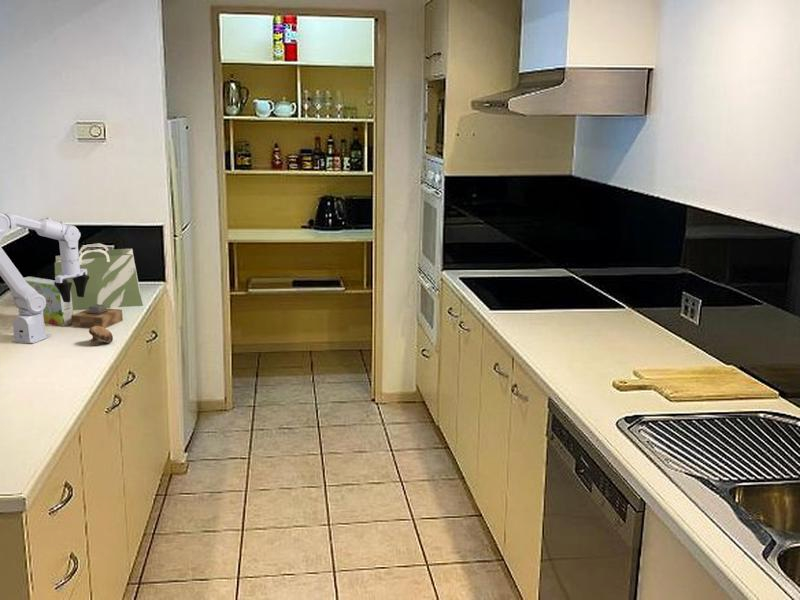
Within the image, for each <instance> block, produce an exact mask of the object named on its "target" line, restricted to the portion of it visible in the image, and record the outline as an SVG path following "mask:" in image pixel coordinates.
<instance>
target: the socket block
mask: <svg viewBox="0 0 800 600" xmlns="http://www.w3.org/2000/svg"><path fill="white" fill-rule="evenodd" d="M71 318H72V324H71V327H72V328H80V329H81V328H82V329H83V328H84V329H90V328H91V327H93V326H101V327H103V328H105V329H107V328H109V327H111V326H114V325H116V324H118V323H120V322H123V320H124V319H123V309H118V308H106V312H105V313H103V314H100V315H92V314H89V309H87V310H81V311H79V312H76V313H75V314H74V313H73V315H72V316H71Z"/></svg>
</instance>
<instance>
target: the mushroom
mask: <svg viewBox="0 0 800 600" xmlns="http://www.w3.org/2000/svg"><path fill="white" fill-rule="evenodd" d="M88 332H89V334H90V335H91V336H92V338H90V340H89V342H90V343H91V344H92V345H94V346H97V344H98V345H99V344H100V343H103V342H104V343H106V344H111V343H112V342H113V340H114V337H113V334H112V332H111V331H110V330H109V329H107V328H103V327H101V326H93V327H91V328H88Z"/></svg>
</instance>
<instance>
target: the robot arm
mask: <svg viewBox="0 0 800 600" xmlns="http://www.w3.org/2000/svg"><path fill="white" fill-rule="evenodd" d="M15 227H19V228H24V229H28V230H34V231H35V232H36V233H37V235H38V236H41V237H45V238H49V239H53V240H57V241H58V243H59V245H58V246H59V253H60V255H59V256H61V266H62V274H60V275H59V276H57V277H55V276H54V279H55V282H54V284H55V286H56V287H57V288H58V290H59V292H60V294H61V296H62V299H63V301H64V302H70V290H71V285H72V283H71V282H68V281H67V280H69V279H73V281H74V283H75V287H76V292H77V296H78V297H84V293H85V288H86V284H87V282H88V280H89V276H87V269H80V263H79V240H80V238H81V236H82V235H81V232H80V230H79V229H78V228H77V227H76V226H75V225H71V224H66V223H65V222H64V221H60V222H59V221H55V220H53V219H52V218H51V217H46V218H40V219H39V220H35V219H32V218H30V217H29V218H28V217H24V216H22V215H21V216H20V215H19V214H18V215H17V214H13V213H9V212H0V243H1V241H3V238H4V237H5V236H6V233H7V232H8V230H9V229H10V230H11V229H13V228H15ZM0 277H1V278H2V280H3V282H4V283H5V284H6V285H7V287H8V288H9V289H10V290H11V293H10V295H11V297H12V298H13V304H14V306H15V307H16V308H18V315H17V316H16V317H15V318H14V319H13V321H12V328H13V329H12V330H13V338H14V339H12V342H14V343H24V344H35V343H37V342H40V341H43V340H45V339H47V338H50V337H52V334H49V333H46V330H45V329H46V327H45V323H44V316H43V310H44V309H45V307H46V299H45V297H44V296H42V295H41V294H39V293H37V292H36V290H35V289H34V288H32V287H31V286H30V285H29V284H28V283H27V282H26V281H25V279H24V276H23V275H22V274H21V272H20V271H19V269H18V268H17V267H16V266H15V264H14V262H12V259H10V257H9V256H8V255H7V253H6V252H5V250H4V249H3V248H2V247H1V245H0Z"/></svg>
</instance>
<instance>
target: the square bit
mask: <svg viewBox="0 0 800 600" xmlns="http://www.w3.org/2000/svg"><path fill="white" fill-rule="evenodd" d="M88 308H89V314H92V315H100V314H103V313H105V312H106V309H107V308H105V305H99V304H94V305H92V306H89V307H88Z"/></svg>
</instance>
